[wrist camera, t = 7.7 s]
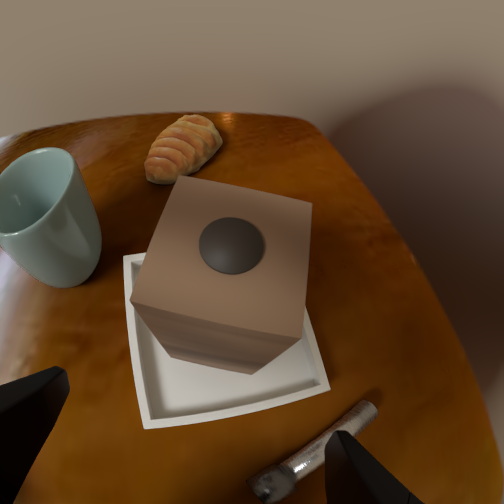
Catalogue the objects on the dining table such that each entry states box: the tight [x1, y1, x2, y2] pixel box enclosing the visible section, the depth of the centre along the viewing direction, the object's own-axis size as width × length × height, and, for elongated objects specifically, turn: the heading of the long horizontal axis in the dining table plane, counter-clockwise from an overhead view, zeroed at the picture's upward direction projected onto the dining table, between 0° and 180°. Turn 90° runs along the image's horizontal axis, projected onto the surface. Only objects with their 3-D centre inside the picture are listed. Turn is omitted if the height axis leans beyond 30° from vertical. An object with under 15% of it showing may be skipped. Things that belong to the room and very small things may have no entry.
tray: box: [123, 253, 331, 429], centre depth 21 cm, size 13×13×2 cm
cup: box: [0, 147, 102, 289], centre depth 18 cm, size 8×8×10 cm
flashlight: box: [246, 399, 379, 504], centre depth 16 cm, size 11×3×3 cm, turn 124°
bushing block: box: [129, 175, 312, 375], centre depth 16 cm, size 6×6×12 cm
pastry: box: [144, 115, 223, 185], centre depth 29 cm, size 9×7×4 cm
